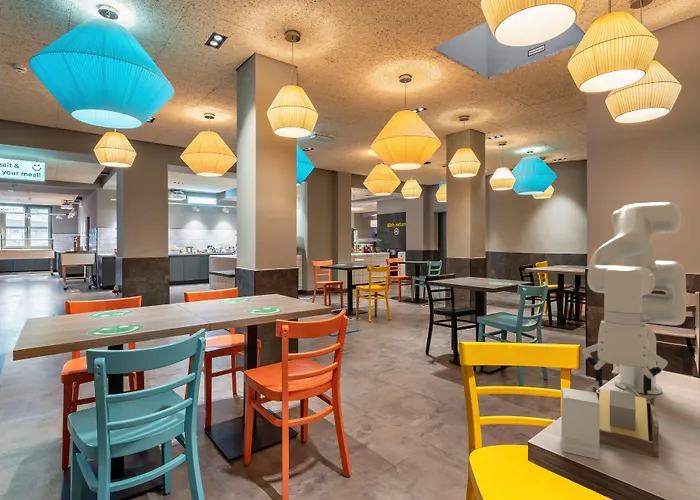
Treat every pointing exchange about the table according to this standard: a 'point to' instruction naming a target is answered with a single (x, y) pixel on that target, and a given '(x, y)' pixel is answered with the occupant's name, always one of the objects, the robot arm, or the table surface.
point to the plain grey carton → (622, 410)
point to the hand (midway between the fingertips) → (622, 388)
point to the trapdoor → (640, 417)
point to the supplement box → (580, 423)
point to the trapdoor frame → (633, 442)
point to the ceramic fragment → (631, 391)
